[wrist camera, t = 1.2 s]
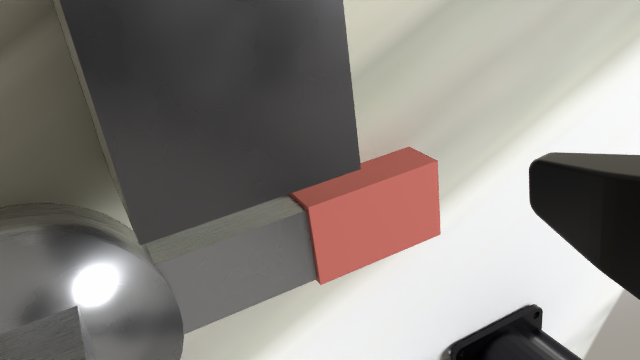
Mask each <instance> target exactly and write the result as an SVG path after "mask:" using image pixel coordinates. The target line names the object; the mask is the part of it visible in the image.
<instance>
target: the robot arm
mask: <svg viewBox="0 0 640 360" xmlns="http://www.w3.org/2000/svg"><path fill="white" fill-rule="evenodd" d="M529 194H530V204H531V207H532V209H533V211H534V212H535V213H536V214H537V215H538V216H539V217H540V218H541V219H542V220H543V221H545V222H546V223H547V224H548V225H549V226H550V227H551V228H552V229H554V230H555V231H556V232H557V233H558V234H559V235H560V236H561V237H563V238H564V239H565V240H566V241H567V242H568V243H569V244H570V245H572V246H573V247H574V248H575V249H576V250H577V251H578V252H579V253H581V254H582V255H583V256H584V257H585V258H586V259H587V260H588V261H590V262H591V263H592V264H593V265H594V266H596V267H597V268H598V269H599V270H600V271H602V272H603V273H604V274H606V275H607V276H608V277H609V278H611V279H612V280H614V281H615V282H616V283H618V284H619V285H620V286H622V287H623V288H624V289H626V290H627V291H629V292H630V293H631V294H633V295H634V296H635V297H637V298H638V299H639V300H640V155H618V154H586V153H548V154H546V155H544V156H542V157H540V158H538V159H536V160H534V161H533V162H532V163H531V165H530V167H529ZM542 313H543V311H542V309H541V308H540V307H538V306H537V305H535V304H533V305H531V306H529V307H527V308H525V309H523V310H521V311H519V312H517V313H515V314H513V315H511V316H509V317H508V318H506V319H504V320H502V321H500V322H498V323H496V324H494V325H492V326H490V327H488V328H486V329H484V330H483V331H481V332H479V333H477V334H475V335H473V336H471V337H469V338H467V339H465V340H463V341H461V342H459V343H458V344H456V345H455V346H454V347H453V349H452V351H451V360H582V359H581V358H579V357H578V356H577V355H575V354H574V353H572V352H571V351H570V350H568V349H567V348H565V347H564V346H563V345H561V344H560V343H559V342H557V341H556V340H554V339H553V338H552V337H550V336H549V335H548V334H546V333H545V332H543V331H542V330H541V328H542Z"/></svg>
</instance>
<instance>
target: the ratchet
mask: <svg viewBox="0 0 640 360" xmlns="http://www.w3.org/2000/svg"><path fill="white" fill-rule="evenodd" d="M360 166H361V169H360V170H357V171H354V172H351V173H348V174H345V175H343V176H340V177H337V178H334V179H331V180H328V181H325V182H322V183H320V184H317V185H314V186H311V187H308V188H305V189H302V190H299V191H296V192H294V193H291V194H288V195H285V196H282V197H279V198H276V199H273V200H271V201H268V202H265V203H262V204H259V205H256V206H253V207H250V208H247V209H245V210H242V211H239V212H236V213H233V214H230V215H227V216H224V217H222V218H219V219H216V220H213V221H210V222H207V223H204V224H201V225H198V226H196V227H193V228H190V229H187V230H184V231H181V232H178V233H175V234H173V235H170V236H167V237H164V238H161V239H158V240H155V241H152V242H149V243H147V244H144V245H141V246H140V245H139V243H138V240H137V238H136V235H135V233H134V231H133V230H131V229H130V228H128V227H127V226H125V225H124V224H122V223H121V222H119V221H117V220H115V219H113V218H111V217H109V216H107V215H104V214H102V213H99V212H96V211H93V210H90V209H86V208H81V207H76V206H72V205H64V204H52V203H39V204H23V205H15V206H8V207H4V208H0V360H180V358H181V354H182V349H183V339H184V334H186V333H188V332H191V331H193V330H196V329H198V328H200V327H203V326H205V325H208V324H210V323H212V322H215V321H217V320H220V319H222V318H224V317H227V316H229V315H232V314H234V313H236V312H239V311H241V310H244V309H246V308H248V307H251V306H253V305H256V304H258V303H260V302H263V301H265V300H268V299H270V298H272V297H275V296H277V295H280V294H282V293H284V292H287V291H289V290H292V289H294V288H296V287H299V286H301V285H304V284H306V283H308V282H311V281H313V280H317V281H318V282H319V284H320V285H322V284H324V283H327V282H329V281H331V280H334V279H336V278H338V277H341V276H343V275H346V274H348V273H350V272H353V271H355V270H357V269H360V268H362V267H364V266H367V265H369V264H372V263H374V262H376V261H379V260H381V259H383V258H386V257H388V256H390V255H393V254H395V253H398V252H400V251H402V250H405V249H407V248H409V247H412V246H414V245H416V244H419V243H421V242H424V241H426V240H428V239H431V238H433V237H435V236H438V235H440V211H439V185H438V161H437V160H435V159H433V158H431V157H429V156H427V155H425V154H423V153H421V152H419V151H417V150H415V149H413V148H411V147H407V148H404V149H401V150H398V151H395V152H393V153H390V154H387V155H384V156H381V157H378V158H375V159H372V160H369V161H366V162H363V163H360Z"/></svg>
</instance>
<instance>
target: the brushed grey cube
mask: <svg viewBox="0 0 640 360" xmlns="http://www.w3.org/2000/svg"><path fill="white" fill-rule="evenodd" d="M53 3H54V6H55V9H56V12H57V15H58V18H59V21H60V24H61V27H62V30H63V33H64V36H65V39H66V42H67V45H68V48H69V51H70V54H71V57H72V60H73V63H74V66H75V69H76V72H77V75H78V78H79V81H80V84H81V87H82V90H83V93H84V96H85V99H86V102H87V105H88V108H89V111H90V114H91V117H92V120H93V123H94V126H95V129H96V132H97V135H98V138H99V141H100V144H101V147H102V150H103V153H104V156H105V159H106V162H107V165H108V168H109V171H110V173H111V176H112V178H113V181H114V183H115V186H116V188H117V190H118V193H119V195H120V198H121V200H122V203H123V205H124V208H125V210H126V213H127V215H128V218H129V220H130V223H131V225H132V228H133V230H134V233H135V235H136V238H137V240H138V243H139V245H140V246H141V245H144V244H147V243H149V242H152V241H155V240H158V239H161V238H164V237H167V236H170V235H173V234H175V233H178V232H181V231H184V230H187V229H190V228H193V227H196V226H198V225H201V224H204V223H207V222H210V221H213V220H216V219H219V218H222V217H224V216H227V215H230V214H233V213H236V212H239V211H242V210H245V209H247V208H250V207H253V206H256V205H259V204H262V203H265V202H268V201H271V200H273V199H276V198H279V197H282V196H285V195H288V194H291V193H294V192H296V191H299V190H302V189H305V188H308V187H311V186H314V185H317V184H320V183H322V182H325V181H328V180H331V179H334V178H337V177H340V176H343V175H345V174H348V173H351V172H354V171H357V170H360V169H361V166H360V157H359V147H358V138H357V128H356V119H355V110H354V100H353V91H352V81H351V72H350V63H349V53H348V44H347V34H346V25H345V16H344V6H343V0H53Z"/></svg>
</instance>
